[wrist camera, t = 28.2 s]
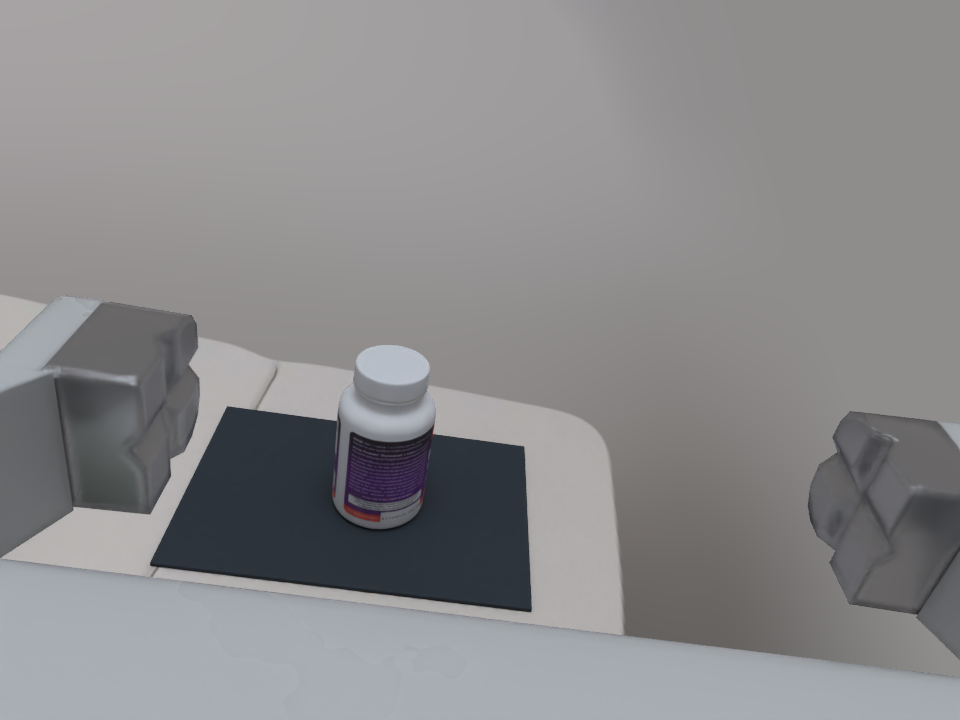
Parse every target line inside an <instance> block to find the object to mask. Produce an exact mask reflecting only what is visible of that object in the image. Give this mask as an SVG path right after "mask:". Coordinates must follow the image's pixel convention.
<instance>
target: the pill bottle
mask: <svg viewBox="0 0 960 720" xmlns="http://www.w3.org/2000/svg"><path fill="white" fill-rule="evenodd" d="M429 373H430V366H429V363H428V361H427V360H426V359H425V358H424V357H423V356H422V355H421V354H419V353H418V352H416V351H414V350H411V349H408V348H406V347H402V346H396V345H380V346H374V347H371V348H368V349H366V350H364V351H363V352H361V353H360V354H359V355H358V357H357V359H356V364H355V372H354V378H353V380H354V383H352V384H351V385H349V386H348V387H347V388H346V389H345V390H344V392H343V393H342V395H341V398H340V401H339V407H338V417H337V431H336V444H335V458H334V472H333V485H332V489H333V492H332V496H333V501H334V504H335V507H336V508H337V510H338V511H339V513H340V514H341V515H342V516H343V517H345V518H346V519H347V520H349V521H350V522H352V523H354V524H356V525H359V526H362V527H366V528H371V529H388V528H393V527H397V526H400V525H402V524H404V523H406V522H408V521H409V520H411V519H412V518H413V517H414V516H415V515H416V514H417V513H418V511H419V510H420V508H421V505H422V502H423V497H424V491H425V484H426V477H427V470H428V463H429V456H430V450H431V442H432V436H433V429H434V423H435V415H436V408H435V403H434V401H433V399H432V397H431V395H430V394H429V393H428V392H427V388H428V381H429Z"/></svg>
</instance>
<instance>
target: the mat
mask: <svg viewBox="0 0 960 720" xmlns="http://www.w3.org/2000/svg"><path fill="white" fill-rule="evenodd" d="M336 431H337V421H332V420H324V419H317V418H309V417H302V416H295V415H287V414H280V413H272V412H265V411H258V410H250V409H243V408H235V407H228V406H227V408H226V410H225V412H224V414H223V416H222V418H221V420H220V422H219V424H218V426H217V428H216V430H215V433H214V435H213V437H212V439H211V441H210V443H209V445H208V447H207V449H206V451H205V453H204V455H203V457H202V459H201V461H200V463H199V465H198V467H197V469H196V471H195V473H194V475H193V477H192V479H191V481H190V483H189V485H188V487H187V489H186V491H185V493H184V495H183V497H182V499H181V501H180V503H179V506H178V508H177V510H176V512H175V514H174V516H173V518H172V520H171V522H170V524H169V526H168V528H167V530H166V532H165V534H164V536H163V538H162V540H161V542H160V544H159V546H158V548H157V550H156V552H155V554H154V556H153V558H152V560H151V562H150V565H151V566H160V567H168V568H176V569H184V570H193V571H201V572H209V573H217V574H226V575H234V576H242V577H250V578H258V579H267V580H275V581H283V582H291V583H300V584H308V585H316V586H324V587H332V588H341V589H349V590H357V591H365V592H374V593H382V594H390V595H398V596H406V597H415V598H423V599H431V600H439V601H448V602H456V603H464V604H472V605H480V606H489V607H497V608H505V609H513V610H522V611H530V612H531V610H532V607H531V585H530V563H529V541H528V519H527V497H526V475H525V454H524V446H516V445H509V444H502V443H494V442H487V441H479V440H472V439H465V438H457V437H450V436H442V435H435V434H433V436H432V442H431V450H430V456H429V463H428V470H427V477H426V484H425V491H424V497H423V502H422V505H421V508H420V510H419V511H418V513H417V514H416V515H415V516H414V517H413V518H412V519H411V520H409V521H408V522H406V523H404V524H402V525H400V526H397V527H393V528H388V529H371V528H366V527H362V526H359V525H356V524H354V523H352V522H350V521H349V520H347V519H346V518H345V517H343V516H342V515H341V514H340V513H339V511H338V510H337V508H336V507H335V504H334V501H333V496H332V492H333V489H332V485H333V472H334V458H335V444H336Z"/></svg>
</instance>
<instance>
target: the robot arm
mask: <svg viewBox="0 0 960 720" xmlns="http://www.w3.org/2000/svg"><path fill="white" fill-rule="evenodd" d="M197 349H198V338H197V325H196V322H195V320H194V319H193V317H192V315H187V314H181V313H175V312H169V311H163V310H157V309H150V308H144V307H138V306H132V305H126V304H120V303H114V302H106V301H104V300H97V299H89V298H81V297H73V296H58V297H56V298H55V299H54V300H53V301H52V302H51V303H50V304H49V305H48V306H47V307H46V308H45V309H44V310H43V311H42V312H41V313H40V314H39V315H38V316H37V317H35V318H34V319H33V320H32V321H31V322H30V323H29V324H28V325H27V326H26V327H25V328H24V329H23V330H22V331H21V332H20V333H19V334H18V335H17V336H16V337H15V338H14V339H13V340H12V341H11V342H10V343H9V344H8V345H7V346H6V347H5V348H4V349H3V350H2V351H1V352H0V558H1V557H3V556H4V555H6V554H7V553H9V552H10V551H12V550H13V549H15V548H16V547H18V546H19V545H21V544H23V543H24V542H26V541H27V540H29V539H30V538H32V537H33V536H35V535H36V534H38V533H39V532H41V531H43V530H44V529H46V528H47V527H49V526H50V525H52V524H53V523H55V522H56V521H58V520H59V519H61V518H63V517H64V516H66V515H67V514H69V513H70V512H72V511H73V507H81V508H91V509H101V510H111V511H121V512H131V513H140V514H151V512H152V510H153V508H154V506H155V504H156V503H157V501H158V499H159V497H160V495H161V493H162V492H163V490H164V488H165V486H166V484H167V482H168V481H169V479H170V477H171V470H170V459H171V458H173V457H175V456H177V455H179V454H181V453H183V452H184V451H185V449H186V447H187V445H188V443H189V441H190V439H191V437H192V434H193V430H194V426H195V423H196V419H197V415H198V407H199V397H200V388H199V378H198V376H197V375H196V374H195V372H194V371H193V370H192V369H191V367H190V366H189V365H188V364H189V362H190V360H191V359H192V357H193V355H194V354H195V352H196V350H197ZM833 440H834V443H835V447H836V450H837V453H836V454H834V455H833V456H831V457H830V458H828V459H827V460H825V461H824V462H822V463H821V464H819V466H818V468H817V471H816V473H815V475H814V477H813V480H812V482H811V484H810V492H809V501H808V509H809V515H810V521H811V523H812V525H813V528H814V530H815V532H816V535H817V536H818V537H819V538H820V539H821V540H822V541H824V542H825V543H826V544H827V545H829V546H830V547H831V548H832V549H833V550H835V552H834V554H833V556H832V558H831V560H830V565H831V567H832V569H833V571H834V573H835V575H836V577H837V580H838V582H839V584H840V586H841V588H842V590H843V592H844V594H845V597H846V599H847V601H848V603H849V604H852V605H859V606H865V607H872V608H878V609H885V610H891V611H897V612H904V613H911V614H917V617H916V618H917V619H918V620H919V621H921V623H922V624H923V625H924V626H925V627H926V628H928V630H930V631H931V632H932V633H933V634H934V635H935V636H936V637H937V638H938V639H939V640H940V641H941V642H942V643H943V644H944V645H945V646H946V647H947V648H948V649H949V650H950V651H951V652H952V653H953V654H954V655H955V656H956V657H957V658H958V659H960V423H950V422H941V421H931V420H922V419H914V418H905V417H896V416H887V415H880V414H871V413H863V412H851V411H850V412H849V413H848V414H847V415H846V416H845V417H844V418H843V419H842V420H841V421H840V423H839V425H838V427H837V429H836V431H835V433H834V435H833ZM0 720H960V677H955V676H947V675H940V674H931V673H924V672H916V671H907V670H898V669H891V668H883V667H875V666H867V665H859V664H850V663H842V662H834V661H826V660H818V659H809V658H802V657H793V656H785V655H777V654H769V653H761V652H753V651H745V650H736V649H729V648H720V647H712V646H704V645H696V644H688V643H680V642H671V641H663V640H655V639H647V638H638V637H631V636H623V635H615V634H607V633H599V632H591V631H582V630H574V629H566V628H558V627H550V626H542V625H534V624H526V623H518V622H510V621H501V620H493V619H485V618H477V617H469V616H461V615H453V614H445V613H437V612H429V611H420V610H412V609H404V608H396V607H388V606H380V605H372V604H364V603H356V602H348V601H340V600H331V599H323V598H315V597H307V596H299V595H291V594H283V593H275V592H267V591H259V590H250V589H242V588H234V587H226V586H218V585H210V584H202V583H194V582H186V581H178V580H169V579H161V578H153V577H145V576H137V575H129V574H121V573H113V572H105V571H97V570H88V569H80V568H72V567H64V566H56V565H48V564H40V563H32V562H24V561H16V560H7V559H0Z"/></svg>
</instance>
